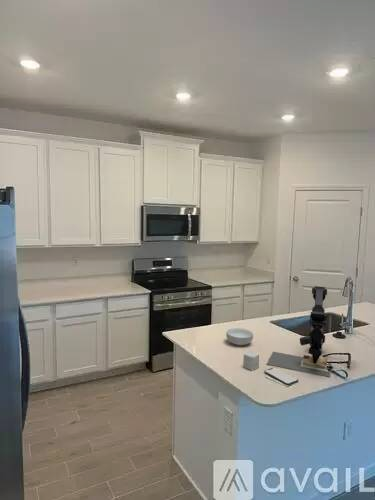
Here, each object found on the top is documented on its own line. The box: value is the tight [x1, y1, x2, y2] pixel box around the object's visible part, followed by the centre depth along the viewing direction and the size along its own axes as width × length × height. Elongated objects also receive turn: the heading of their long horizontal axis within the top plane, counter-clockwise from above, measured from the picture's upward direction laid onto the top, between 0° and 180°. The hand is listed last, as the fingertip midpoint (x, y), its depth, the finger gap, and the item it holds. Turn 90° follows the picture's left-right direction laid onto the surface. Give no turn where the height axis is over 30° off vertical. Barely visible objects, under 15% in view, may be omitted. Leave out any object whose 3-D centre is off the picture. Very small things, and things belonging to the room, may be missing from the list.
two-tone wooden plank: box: [302, 354, 328, 367], centre depth 185 cm, size 12×5×3 cm, turn 66°
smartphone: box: [263, 366, 299, 387], centre depth 172 cm, size 9×2×16 cm
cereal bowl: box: [225, 327, 254, 346], centre depth 216 cm, size 17×17×7 cm
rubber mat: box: [266, 351, 332, 378], centre depth 188 cm, size 19×32×1 cm, turn 66°
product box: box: [242, 351, 260, 371], centre depth 182 cm, size 6×6×7 cm
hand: (314, 361), depth 185 cm, fingers closed on two-tone wooden plank, 5 cm apart
